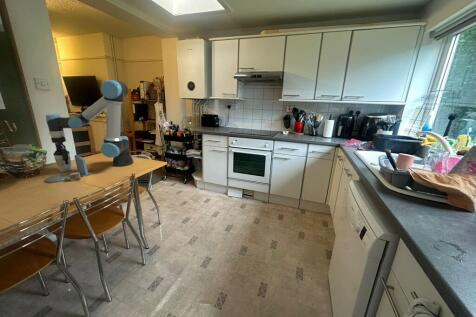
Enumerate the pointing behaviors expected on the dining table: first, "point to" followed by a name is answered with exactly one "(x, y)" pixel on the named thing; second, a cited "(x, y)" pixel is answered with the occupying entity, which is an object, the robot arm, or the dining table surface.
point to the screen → (81, 166)
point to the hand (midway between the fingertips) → (65, 166)
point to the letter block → (75, 176)
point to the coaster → (56, 178)
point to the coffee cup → (59, 161)
